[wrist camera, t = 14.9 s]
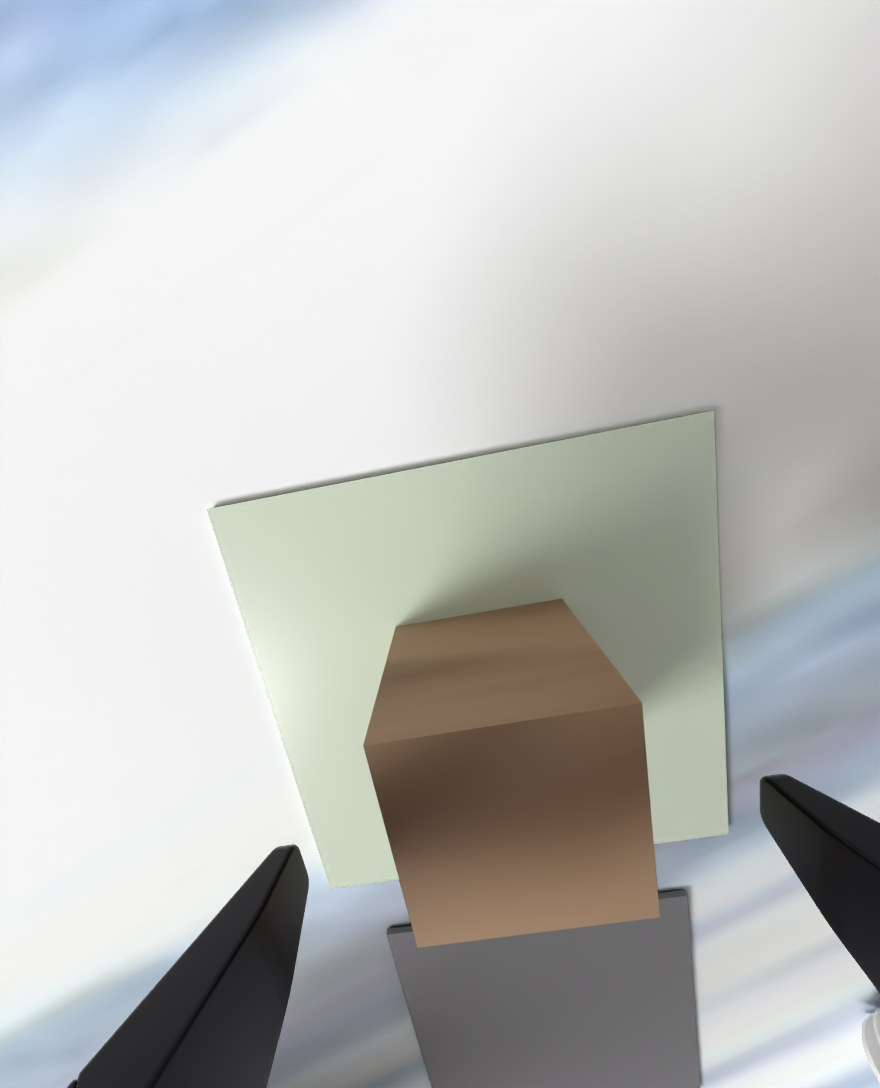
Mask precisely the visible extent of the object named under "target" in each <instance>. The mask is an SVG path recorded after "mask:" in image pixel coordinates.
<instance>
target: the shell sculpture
mask: <svg viewBox="0 0 880 1088" xmlns="http://www.w3.org/2000/svg"><path fill="white" fill-rule="evenodd" d="M862 1043H863V1047H864V1050H865V1053H866V1056H867V1058H868V1060H869V1063H870V1065H871V1067H872V1069H873V1071H874V1073H875V1075H876V1077H877V1079H878V1081H879V1083H880V1008H878V1009H876V1010H875V1011H874V1013H873V1014H872V1015H870V1016H868V1017H867V1018H866V1019H865V1020H864V1022H863V1025H862Z"/></svg>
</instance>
